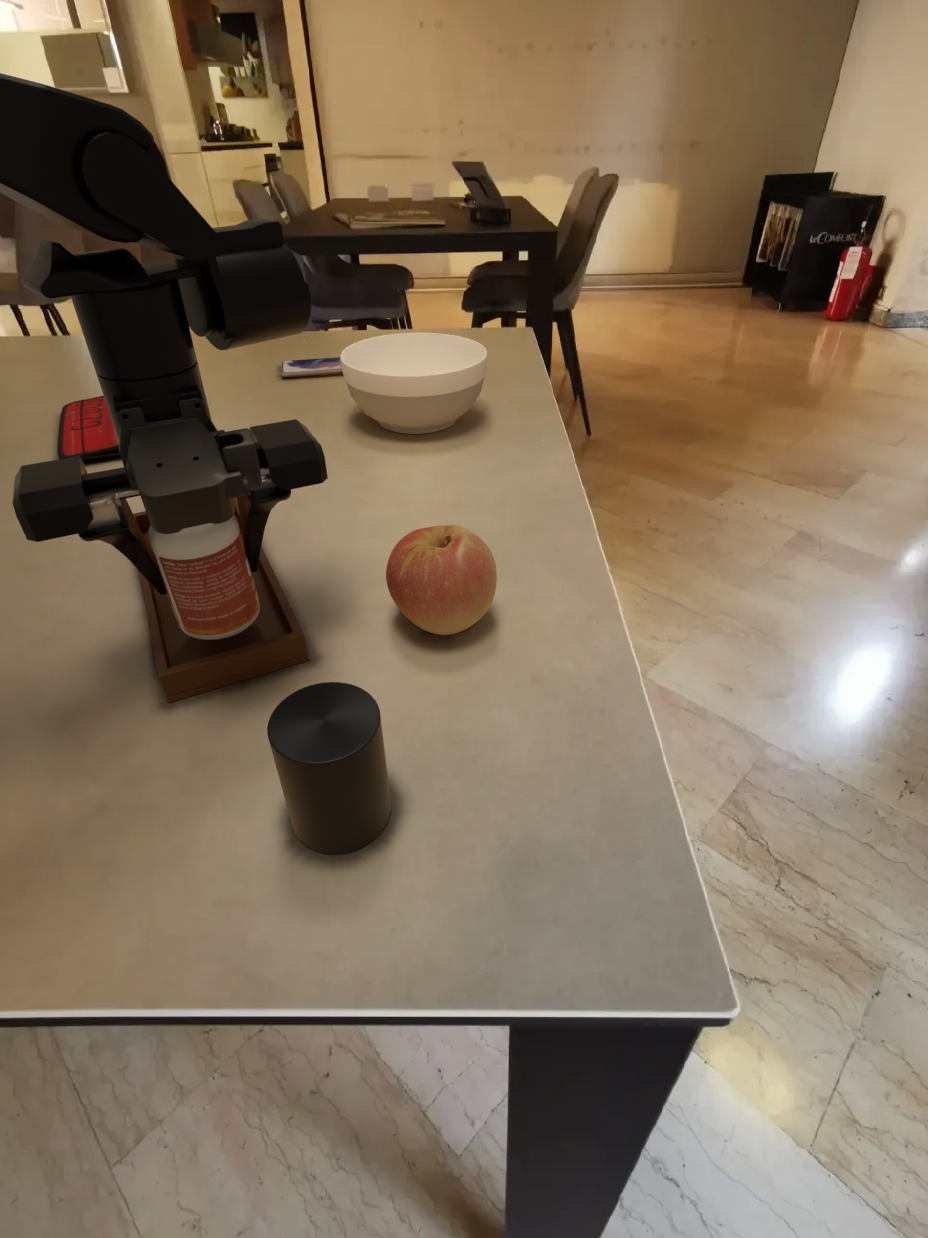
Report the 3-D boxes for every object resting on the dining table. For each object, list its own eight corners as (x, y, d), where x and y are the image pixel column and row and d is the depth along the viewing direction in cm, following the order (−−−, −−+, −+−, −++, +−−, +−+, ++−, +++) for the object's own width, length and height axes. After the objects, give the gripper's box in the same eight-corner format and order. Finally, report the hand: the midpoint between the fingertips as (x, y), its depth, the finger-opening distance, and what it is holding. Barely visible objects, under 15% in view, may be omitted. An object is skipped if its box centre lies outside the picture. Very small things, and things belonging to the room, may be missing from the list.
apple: (429, 667, 51) (424, 581, 46) (371, 611, 57) (361, 528, 52) (517, 625, 55) (521, 541, 50) (454, 576, 61) (453, 497, 56)
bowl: (336, 403, 96) (328, 339, 90) (461, 388, 100) (461, 327, 95) (362, 455, 81) (355, 383, 76) (507, 435, 86) (509, 366, 81)
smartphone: (281, 360, 109) (373, 354, 111) (282, 366, 109) (373, 359, 112) (280, 373, 103) (377, 366, 105) (281, 378, 104) (377, 372, 106)
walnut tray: (309, 660, 52) (304, 634, 50) (168, 703, 48) (158, 676, 46) (240, 514, 70) (235, 492, 68) (135, 537, 66) (127, 514, 65)
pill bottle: (277, 613, 52) (248, 486, 45) (210, 655, 49) (166, 522, 42) (230, 585, 55) (195, 461, 48) (163, 621, 52) (115, 493, 45)
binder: (177, 377, 98) (195, 428, 82) (182, 393, 99) (200, 446, 84) (58, 398, 93) (54, 457, 78) (65, 415, 94) (62, 475, 79)
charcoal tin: (274, 842, 39) (246, 751, 34) (316, 764, 44) (296, 673, 39) (371, 864, 38) (356, 773, 33) (403, 781, 42) (395, 690, 37)
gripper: (-47, 441, 31) (73, 686, 41) (338, 382, 38) (364, 605, 47) (-28, 373, 39) (69, 591, 49) (288, 334, 46) (318, 533, 55)
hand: (208, 580), depth 50 cm, fingers closed on pill bottle, 6 cm apart
